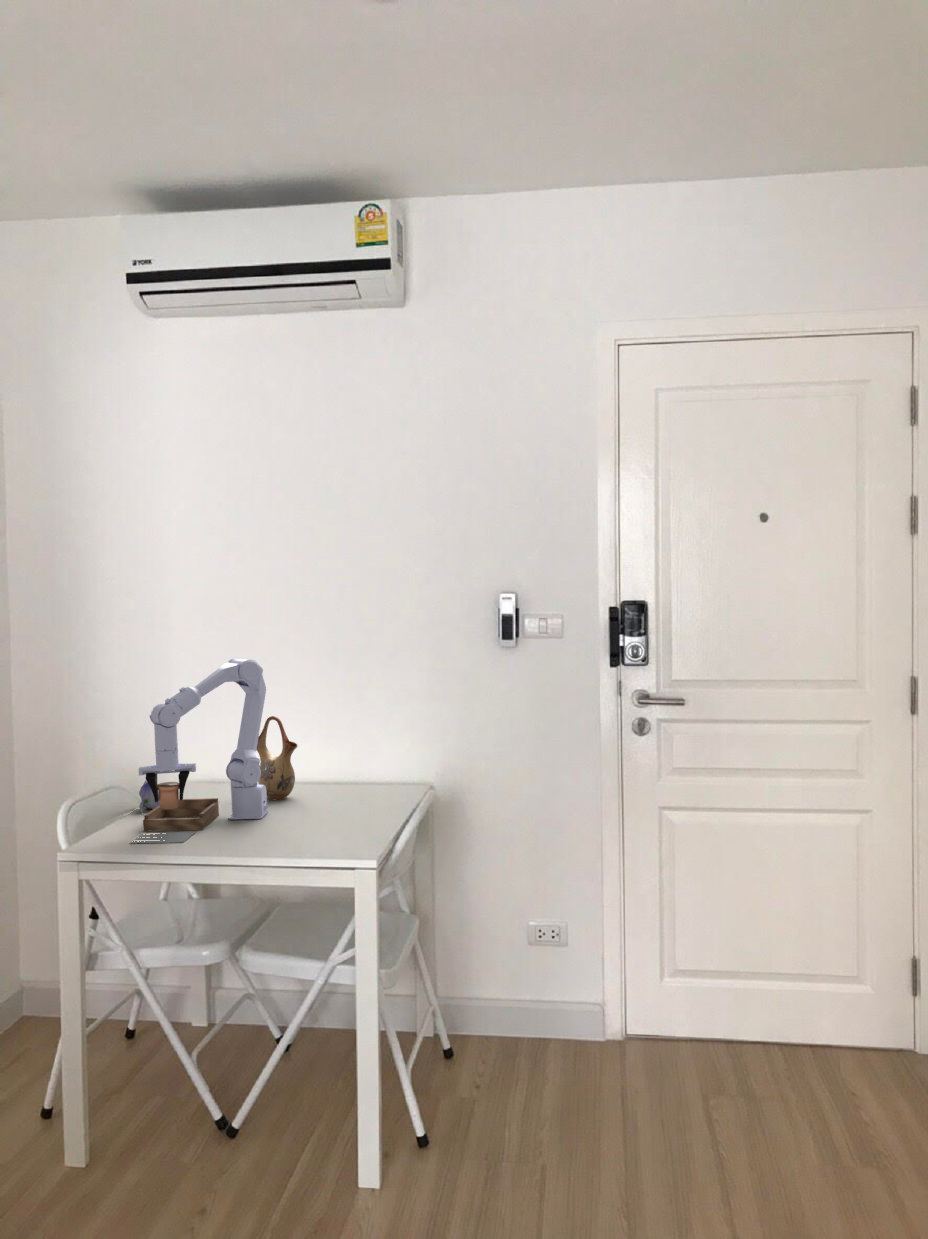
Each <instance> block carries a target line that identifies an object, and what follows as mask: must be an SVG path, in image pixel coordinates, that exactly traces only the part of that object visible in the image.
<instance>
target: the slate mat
mask: <svg viewBox="0 0 928 1239" xmlns="http://www.w3.org/2000/svg"><path fill="white" fill-rule="evenodd" d="M157 833H160V834H155V835H153V834H150V835H146V834H145V835H143V833H142V834H140V835H139V836H138V837H139V838H138V837H136V838H134V840H160V841H145V842H144V841H141V842H140V841H139V842H137V841H135V842H134V841H133V840H132V841H133V842H132V841H130V843H131V844H130V845H138V844H137V843H143V844H142V845H145V844H144V843H153V844H183V843H185V842H186V841H187V840H189V838H191V837H192V836H194V835H195V834H196V831H166V832H165V831H160V832H159V831H157ZM162 833H166V834H162ZM140 837H141V838H140ZM142 837H145V838H142ZM146 837H150V838H146ZM153 837H157V838H153ZM161 837H162V838H161ZM163 840H165V841H163Z"/></svg>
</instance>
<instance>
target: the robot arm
mask: <svg viewBox="0 0 928 1239" xmlns="http://www.w3.org/2000/svg"><path fill="white" fill-rule="evenodd" d="M263 673H264V669H263V667H262V666H261V665H260V664H259V663H258V662H257V661H256V660H254V659H242V658H238V657H234V658H231V659H230V660H228V661H227V662H224V663H222V664H221V665H220V666H219V668H217V669H216V670H215V671H213V672H212V673H211V674H209V675H208V676H206V678H204V679H203V680H201V681H200V682H199V683H198V684H197V685H195V686H194V687H192V686H186V687H183V686H182V687H181V688H179V690H178V691H179V692H178V693H176V694H174V695H173V696H172V697H170V698H169V697H168V698H166V699H165V700H164V703H159V704H157V705H155V706H154V707H153V708H152V710H151V712H150V714H149V719H150V722H152V724H153V726H154V727H153V728H154V750H155V752H154V753H155V764H154V765H148V766H146V765H145V766H139V767H138V776H145V781H146V782H148V784H149V786H150V788H151V790H152V793H153V795H154V799H155V802H158V800H159V797H158V790H157V784H158V775H159V774H160V775H161V774H175V773H178V783H179V787H180V788H179V799H180V800H183V799H184V793H185V787H186V783H187V781H188V777H189V775H190V772H192V773H195V772H197V763H179V748H178V747H179V746H178V729H177V725H178V724H179V722H180V720H181V718H182V717H184V715H186V714H188V713H189V712H190V711H192V710H194V709H195V708H196V707H198V706H199V705H200V704H201V700H202V698H203V697H204V696H206V695H207V694H210V692H212V691H213V690H215V689H216V688H218V687H220V686H222V685H223V684H224V683H230V682H232V683H235V684H237V685H239V687H240V688H241V689H242V691H243V692H244V693H245V697H244V702H243V708H242V715H241V721H240V726H239V727H240V728H239V733H238V737H237V744H236V745H237V746H236V749H235V750H234V752H232V754H231V756H230V759H229V762H228V763H227V765H226V768H225V775H226V777H227V779H228V780H230V793H231V794H230V795H231V815H229V816H228V817H227V819H228V820H260V819H263V818H264V816H266V815H267V814H268V812H269V809H268V797H267V792H266V786H265V785H260V784H259V783H258V781H259V779H260V776H261V770H260V762H261V761H260V756H259V753H258V751H257V744H258V737H259V736H260V730H261V723H262V718H263V712H264V705H265V699H266V693H267V686H266V683H265V680H264V676H263V675H264V674H263Z"/></svg>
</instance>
